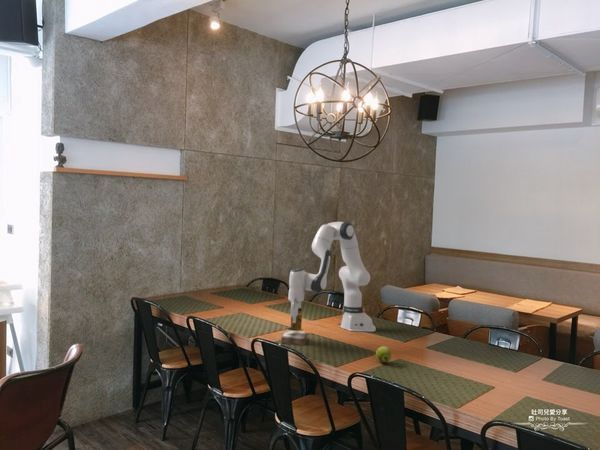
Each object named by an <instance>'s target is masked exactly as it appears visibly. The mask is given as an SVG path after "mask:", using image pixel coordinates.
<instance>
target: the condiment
mask: <svg viewBox="0 0 600 450" xmlns="http://www.w3.org/2000/svg"><path fill="white" fill-rule="evenodd" d="M290 317H291V316H290ZM302 319H303V313H302V308H301V307H300V308H299V309H298V315H297V317H296V323H293V317H291V318H290V327H285V328H284V329H285V330H286V331H299V332H303V331H304V329H302V321H303V320H302Z"/></svg>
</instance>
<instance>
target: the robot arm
mask: <svg viewBox="0 0 600 450" xmlns="http://www.w3.org/2000/svg"><path fill="white" fill-rule="evenodd" d="M338 240H339V244H340V251H341V257H342V261H343V263H345V265H344V266H341V267H340V268H339V271H338V278H339V279H340V280H341V283H342V286H343V287H342V288H343V293H344V298H343V300H344V301H343V306H342V319H341V323H340V328H342V329H343V330H346V331H349V332H367V333H368V332H371V333H372V332H376V330H377V327H376V326H375V325H374V323H373V319H372V317H370V316H369V315H368V314H366V308H365V307H364V306H362V299H363V298H362V297H363V294H362V291H361V290H360V288H359V287H364V286H367V285H368V284H369V283H370V281H371V275H370V274H371V273H369V271H368V270H367V269H366V267H365V265H364V263H363V261H362V258H361V255H360V249H359V243H358V239H357V235H356V232H355V228H354V225H353V224H352V223H351V222H347V221H334V222H333V221H332V222H330V221H329V222H326V223H324V224H322V225H321V226H320V227H319V228H318V230H317V232H316V234H315V236H314V237H313V240H312V243H311V250H312V253H314V255H316V256H317V257H318V258H320V260H321V262H320V266H319V271H318V273H317V274H314V273H309V272H307V271H305V269H304V268H303V267H295V268H292V269H291V270H290V273H289V278H288V286H289V289H288V296H287V297H288V298H287V299H288V300H289V301H290V302H289V303H291V305H290V317H293V323H296V317H297V315H298V309H299V308H301V307H302V306H301V305H302V302H303V301H304V300H305V290H306V291H310V292H314V293H317V294H320V293H323V292H324V291H325V290H326V289H327V286H328V277H329V273H330V268H331V264H332V258H333V253H332V251H331V247H332V244H333V241H338Z"/></svg>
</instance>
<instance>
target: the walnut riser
mask: <svg viewBox="0 0 600 450" xmlns="http://www.w3.org/2000/svg"><path fill="white" fill-rule="evenodd" d="M307 335H308V333H307V332H306V331H289V330H284V332H283V334H282V335H281V342H280V343H281V344H285V345H298V346H299V345H301V346H305V345H306V342H307Z"/></svg>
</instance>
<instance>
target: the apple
mask: <svg viewBox="0 0 600 450" xmlns="http://www.w3.org/2000/svg"><path fill="white" fill-rule="evenodd" d="M375 358H376V360H377V361H378V362H380V363H382V364H384V363H385V364H386V363H388V362H389V361H390V360H391V358H392V352H391V349H390V348H389V347H388V346H383V345H381V346H380V347H378V348H377V349H376V352H375Z"/></svg>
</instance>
